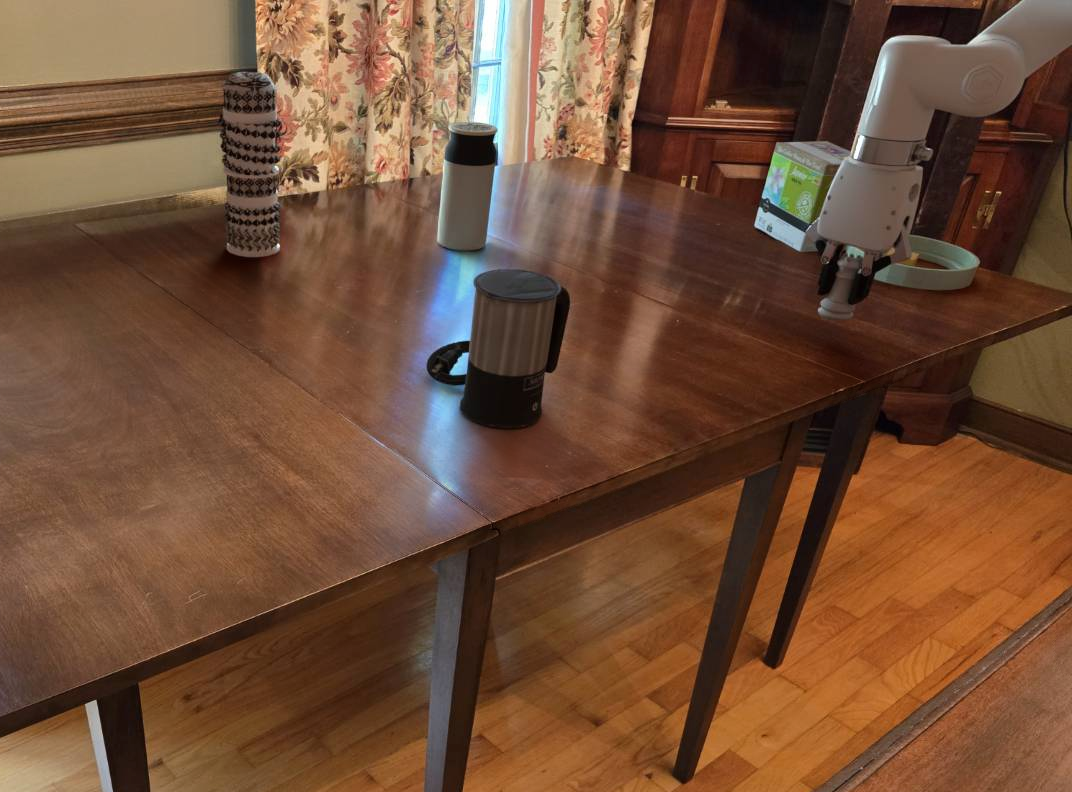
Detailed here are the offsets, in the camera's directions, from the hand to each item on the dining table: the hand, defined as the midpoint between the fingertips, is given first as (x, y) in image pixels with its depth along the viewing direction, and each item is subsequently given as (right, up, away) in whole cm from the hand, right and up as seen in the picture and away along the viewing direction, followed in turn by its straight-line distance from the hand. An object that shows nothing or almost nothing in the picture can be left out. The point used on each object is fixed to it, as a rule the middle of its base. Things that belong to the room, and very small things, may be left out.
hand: (840, 296), depth 126 cm
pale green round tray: (+22, +9, +24) cm, 34 cm away
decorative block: (+19, +8, +22) cm, 30 cm away
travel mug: (-47, +16, +30) cm, 58 cm away
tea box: (+13, +19, +39) cm, 45 cm away
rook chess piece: (0, -2, +2) cm, 3 cm away
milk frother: (-50, -16, -15) cm, 54 cm away
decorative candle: (-80, +14, +25) cm, 85 cm away
